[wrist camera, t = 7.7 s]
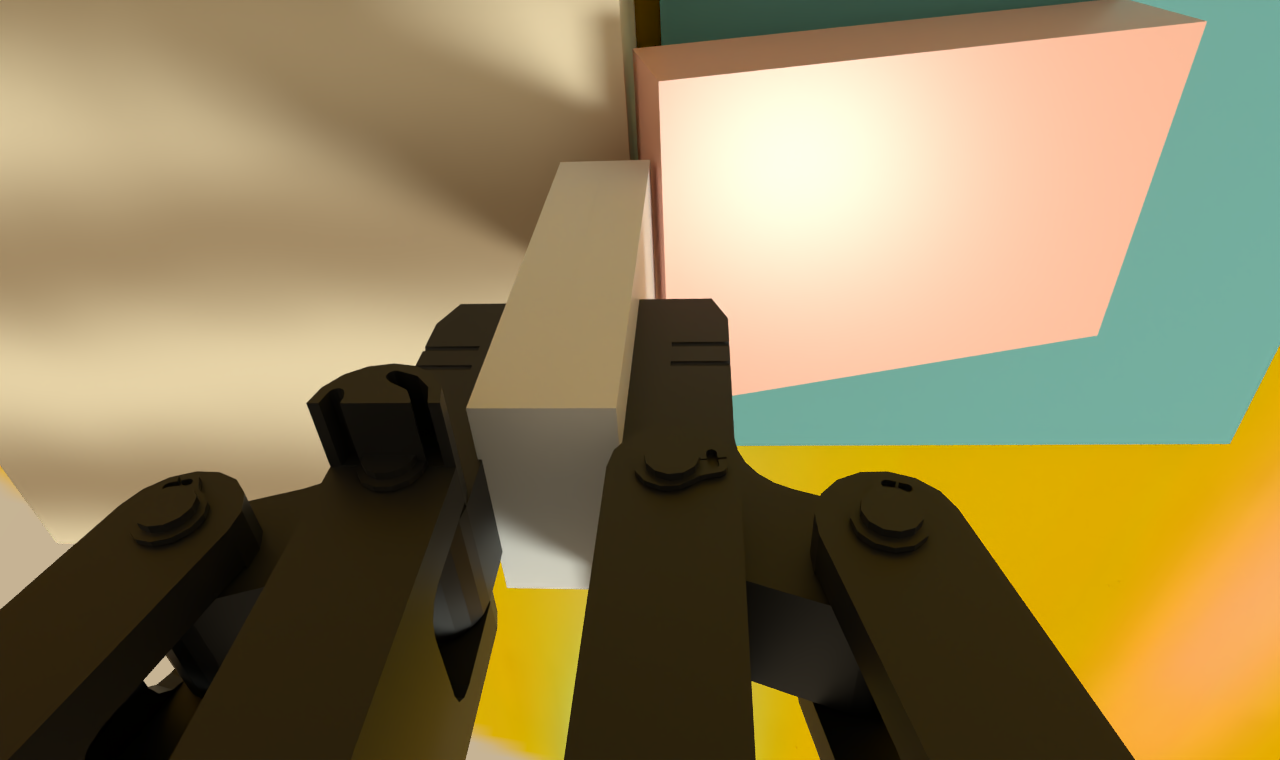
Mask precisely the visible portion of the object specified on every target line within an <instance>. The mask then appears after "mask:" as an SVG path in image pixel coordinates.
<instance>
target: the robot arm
mask: <svg viewBox="0 0 1280 760" xmlns="http://www.w3.org/2000/svg"><path fill="white" fill-rule="evenodd" d="M306 404H307V407H308V409H309V412H310V415H311V417H312V420H313V422H314V425H315V428H316V430H317V433H318V436H319V438H320V441H321V443H322V446H323V449H324V451H325V454H326V457H327V459H328V462H329V465H330V468H329V470H328V472H327V473H326V475H325V477H324V479H323V481H322V483H320V484H317V485H314V486H310V487H307V488H304V489H300V490H295V491H291V492H286V493H282V494H277V495H273V496H268V497H264V498H260V499H255V500H251V501H248V499H247V497H246V495H245V493H244V491H243V489H242V488H241V486H240V484H239V483H238V481H237V479H234V478H232V477H230V476H228V475H225V474H223V473H221V472H203V471H196V472H191V473H187V474H182V475H177V476H173V477H169V478H167V479H164V480H162V481H160V482H158V483H155V484H153V485H151V486H148V487H146V488H144V489H142V490H141V491H139V492H138V493H136V494H135V495H133V496H132V497H131V498H129V499H128V500H126V501H125V502H123V503H122V504H120V505H119V506H118V507H117V508H116V509H115V510H113V511H112V512H111V513H110V514H109V515H108V516H107V517H105V518H104V519H103V520H102V521H101V522H100V523H99V524H97V525H96V526H95V527H94V528H93V529H92V530H91V531H89V532H88V533H87V534H86V535H85V536H84V537H83V538H81V539H80V540H79V541H78V542H77V543H76V544H75V545H73V547H71V548H70V549H69V550H68V551H67V552H66V553H64V554H63V555H62V556H61V557H60V558H59V559H57V560H56V561H55V562H54V563H53V564H52V565H51V566H50V567H48V568H47V569H46V570H45V571H44V572H43V573H41V574H40V575H39V576H38V577H37V578H36V579H35V580H33V582H31V583H30V584H29V585H28V586H27V587H25V589H23V590H22V591H21V592H20V593H19V594H18V595H16V596H15V597H14V598H13V599H12V600H11V601H10V602H8V603H7V604H6V605H5V606H4V607H3V608H2V609H0V760H465V759H466V755H467V751H468V747H469V743H470V739H471V735H472V730H473V726H474V722H475V718H476V714H477V710H478V706H479V701H480V697H481V693H482V689H483V685H484V681H485V677H486V672H487V668H488V664H489V660H490V656H491V652H492V648H493V643H494V639H495V635H496V631H497V608H496V604H495V600H494V596H493V592H492V591H493V587H494V583H495V579H496V575H497V571H498V568H499V564H500V560H501V563H502V567H503V572H504V576H505V580H506V585H507V588H549V589H589V590H588V597H587V604H586V611H585V618H584V625H583V632H582V639H581V645H580V652H579V659H578V666H577V673H576V680H575V687H574V694H573V701H572V708H571V715H570V722H569V729H568V736H567V743H566V749H565V756H564V760H756V759H755V741H754V722H753V704H752V686H751V681H753V682H756V683H759V684H762V685H765V686H768V687H771V688H774V689H777V690H779V691H782V692H785V693H788V694H791V695H794V696H797V697H798V700H799V704H800V706H801V709H802V712H803V714H804V717H805V720H806V723H807V725H808V728H809V731H810V733H811V736H812V739H813V741H814V744H815V747H816V749H817V752H818V755H819V757H820V760H1135V759H1134V758H1133V756H1132V755H1131V753H1130V752H1129V750H1128V749H1127V748H1126V746H1125V745H1124V743H1123V742H1122V741H1121V739H1120V738H1119V736H1118V735H1117V733H1116V732H1115V731H1114V729H1113V728H1112V726H1111V725H1110V723H1109V722H1108V721H1107V719H1106V718H1105V716H1104V715H1103V714H1102V712H1101V711H1100V709H1099V708H1098V706H1097V705H1096V704H1095V702H1094V701H1093V699H1092V698H1091V697H1090V695H1089V694H1088V692H1087V691H1086V689H1085V688H1084V687H1083V685H1082V684H1081V682H1080V681H1079V679H1078V678H1077V677H1076V675H1075V674H1074V672H1073V671H1072V670H1071V668H1070V667H1069V665H1068V664H1067V662H1066V661H1065V660H1064V658H1063V657H1062V655H1061V654H1060V653H1059V651H1058V650H1057V648H1056V647H1055V645H1054V644H1053V643H1052V641H1051V640H1050V638H1049V637H1048V635H1047V634H1046V633H1045V631H1044V630H1043V628H1042V627H1041V626H1040V624H1039V623H1038V621H1037V620H1036V618H1035V617H1034V616H1033V614H1032V613H1031V611H1030V610H1029V609H1028V607H1027V606H1026V604H1025V603H1024V601H1023V600H1022V599H1021V597H1020V596H1019V594H1018V593H1017V592H1016V590H1015V589H1014V587H1013V586H1012V584H1011V583H1010V582H1009V580H1008V579H1007V577H1006V576H1005V574H1004V573H1003V572H1002V570H1001V569H1000V567H999V566H998V565H997V563H996V562H995V560H994V559H993V557H992V556H991V555H990V553H989V552H988V550H987V549H986V548H985V546H984V545H983V543H982V542H981V540H980V539H979V538H978V536H977V535H976V533H975V532H974V530H973V529H972V528H971V526H970V525H969V523H968V522H967V521H966V519H965V518H964V516H963V515H962V513H961V512H960V511H959V509H958V508H957V507H956V506H955V505H954V504H953V503H952V502H951V501H950V500H949V499H948V498H947V497H946V496H944V495H943V494H942V493H941V492H940V491H939V490H937V489H935V488H933V487H931V486H929V485H927V484H925V483H924V482H922V481H920V480H918V479H916V478H913V477H908V476H904V475H900V474H896V473H891V472H859V473H856V474H853V475H850V476H847V477H844V478H841V479H838V480H837V481H835V482H834V483H833V484H832V485H831V486H830V487H828V488H827V489H826V490H825V491H824V492H823V493H821V496H818V495H814V494H810V493H806V492H802V491H798V490H794V489H791V488H788V487H785V486H782V485H779V484H776V483H774V482H772V481H770V480H768V479H767V478H765V477H763V476H761V475H760V474H758V473H757V472H756V471H754V470H753V469H752V468H751V467H750V466H749V465H748V464H747V463H746V462H745V461H744V459H743V458H742V456H741V455H740V453H739V452H738V450H737V446H736V442H735V438H734V420H733V401H732V382H731V366H730V346H729V327H728V318H727V316H726V315H725V314H724V313H723V312H722V310H721V309H720V308H719V307H718V305H717V304H716V303H715V302H714V301H713V299H712V298H703V299H656V279H655V256H654V233H653V210H652V188H651V165H650V160H621V161H582V162H560V165H559V167H558V170H557V172H556V175H555V178H554V180H553V183H552V185H551V188H550V191H549V193H548V196H547V198H546V201H545V204H544V206H543V209H542V212H541V214H540V217H539V219H538V222H537V225H536V227H535V230H534V232H533V235H532V238H531V240H530V243H529V245H528V248H527V251H526V253H525V256H524V258H523V261H522V264H521V266H520V269H519V272H518V274H517V277H516V279H515V282H514V285H513V287H512V290H511V292H510V295H509V298H508V300H507V303H503V304H460V305H459V306H458V307H456V308H455V309H454V310H453V311H452V312H450V313H449V314H448V315H447V316H445V317H444V318H443V319H442V320H441V321H439V322H438V323H437V324H436V326H435V328H434V330H433V332H432V334H431V336H430V338H429V340H428V342H427V344H426V346H425V351H423V352H422V354H421V356H420V358H419V360H418V362H417V364H416V366H412V365H404V364H395V363H393V364H384V365H376V366H368V367H365V368H362V369H359V370H356V371H353V372H350V373H347V374H344V375H342V376H340V377H338V378H337V379H335V380H333V381H331V382H330V383H328V384H326V385H325V386H323V387H321V388H320V389H319V390H318V391H317V392H316V394H315V395H314V396H313V397H312V398H311V399H310V400H309V401H308V402H307V403H306ZM165 655H166V656H167V658H168V659H169V661H170V662H171V664H172V665H173V667H174V668H175V669H174V670H173V671H172V672H171V673H170V674H169V675H168V676H167V677H166V678H164V679H163V680H162V681H161V682H159V684H157V685H154V686H150V687H147V685H146V684H145V682H144V681H143V680H144V679H145V678H146V677H147V676H148V674H149V673H150V672H151V671H152V670H153V669H154V667H156V665H157V664H158V663H159V662H160V661H161V660H162V659H163V658H164V656H165Z"/></svg>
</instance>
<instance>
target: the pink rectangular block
mask: <svg viewBox="0 0 1280 760" xmlns="http://www.w3.org/2000/svg"><path fill="white" fill-rule="evenodd" d="M1206 23H1207V21H1204V20H1201V19H1197V18H1194V17H1190V16H1186V15H1183V14H1179V13H1175V12H1172V11H1168V10H1164V9H1161V8H1157V7H1153V6H1150V5H1146V4H1142V3H1139V2H1135V1H1131V0H1096V1H1087V2H1077V3H1067V4H1058V5H1048V6H1038V7H1029V8H1019V9H1010V10H1000V11H990V12H981V13H971V14H961V15H952V16H942V17H932V18H923V19H913V20H904V21H894V22H884V23H875V24H865V25H855V26H846V27H836V28H826V29H817V30H807V31H798V32H788V33H778V34H769V35H759V36H749V37H740V38H730V39H720V40H711V41H701V42H691V43H682V44H672V45H663V46H653V47H643V48H634V49H632V53H633V72H634V91H635V110H636V129H637V148H638V160H650V165H651V188H652V210H653V233H654V256H655V279H656V299H703V298H712V299H713V301H714V302H715V303H716V304H717V305H718V307H719V308H720V309H721V310H722V312H723V313H724V314H725V315H726V316H727V318H728V327H729V346H730V366H731V382H732V396H734V395H740V394H747V393H753V392H759V391H765V390H771V389H777V388H783V387H789V386H795V385H801V384H807V383H813V382H819V381H825V380H831V379H837V378H843V377H849V376H855V375H861V374H867V373H873V372H880V371H886V370H892V369H898V368H904V367H910V366H916V365H922V364H928V363H934V362H940V361H946V360H952V359H958V358H964V357H970V356H976V355H982V354H988V353H994V352H1000V351H1006V350H1012V349H1019V348H1025V347H1031V346H1037V345H1043V344H1049V343H1055V342H1061V341H1067V340H1073V339H1079V338H1085V337H1091V336H1097V335H1098V332H1099V329H1100V327H1101V324H1102V321H1103V318H1104V315H1105V312H1106V309H1107V307H1108V304H1109V301H1110V298H1111V295H1112V292H1113V289H1114V286H1115V284H1116V281H1117V278H1118V275H1119V272H1120V269H1121V266H1122V264H1123V261H1124V258H1125V255H1126V252H1127V249H1128V246H1129V244H1130V241H1131V238H1132V235H1133V232H1134V229H1135V226H1136V224H1137V221H1138V218H1139V215H1140V212H1141V209H1142V206H1143V203H1144V201H1145V198H1146V195H1147V192H1148V189H1149V186H1150V183H1151V181H1152V178H1153V175H1154V172H1155V169H1156V166H1157V163H1158V161H1159V158H1160V155H1161V152H1162V149H1163V146H1164V143H1165V141H1166V138H1167V135H1168V132H1169V129H1170V126H1171V123H1172V120H1173V118H1174V115H1175V112H1176V109H1177V106H1178V103H1179V100H1180V98H1181V95H1182V92H1183V89H1184V86H1185V83H1186V80H1187V78H1188V75H1189V72H1190V69H1191V66H1192V63H1193V60H1194V57H1195V55H1196V52H1197V49H1198V46H1199V43H1200V40H1201V37H1202V35H1203V32H1204V29H1205V26H1206Z"/></svg>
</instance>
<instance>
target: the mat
mask: <svg viewBox="0 0 1280 760" xmlns="http://www.w3.org/2000/svg"><path fill="white" fill-rule="evenodd" d="M1087 1H1096V0H660V20H661V45H662V46H663V45H672V44H682V43H691V42H701V41H711V40H720V39H730V38H740V37H749V36H759V35H769V34H778V33H788V32H798V31H807V30H817V29H826V28H836V27H846V26H855V25H865V24H875V23H884V22H894V21H904V20H913V19H923V18H932V17H942V16H952V15H961V14H971V13H981V12H990V11H1000V10H1010V9H1019V8H1029V7H1038V6H1048V5H1058V4H1067V3H1077V2H1087ZM1131 1H1135V2H1139V3H1142V4H1146V5H1150V6H1153V7H1157V8H1161V9H1164V10H1168V11H1172V12H1175V13H1179V14H1183V15H1186V16H1190V17H1194V18H1197V19H1201V20H1204V21H1207V23H1206V26H1205V29H1204V32H1203V35H1202V37H1201V40H1200V43H1199V46H1198V49H1197V52H1196V55H1195V57H1194V60H1193V63H1192V66H1191V69H1190V72H1189V75H1188V78H1187V80H1186V83H1185V86H1184V89H1183V92H1182V95H1181V98H1180V100H1179V103H1178V106H1177V109H1176V112H1175V115H1174V118H1173V120H1172V123H1171V126H1170V129H1169V132H1168V135H1167V138H1166V141H1165V143H1164V146H1163V149H1162V152H1161V155H1160V158H1159V161H1158V163H1157V166H1156V169H1155V172H1154V175H1153V178H1152V181H1151V183H1150V186H1149V189H1148V192H1147V195H1146V198H1145V201H1144V203H1143V206H1142V209H1141V212H1140V215H1139V218H1138V221H1137V224H1136V226H1135V229H1134V232H1133V235H1132V238H1131V241H1130V244H1129V246H1128V249H1127V252H1126V255H1125V258H1124V261H1123V264H1122V266H1121V269H1120V272H1119V275H1118V278H1117V281H1116V284H1115V286H1114V289H1113V292H1112V295H1111V298H1110V301H1109V304H1108V307H1107V309H1106V312H1105V315H1104V318H1103V321H1102V324H1101V327H1100V329H1099V332H1098V335H1097V336H1091V337H1085V338H1079V339H1073V340H1067V341H1061V342H1055V343H1049V344H1043V345H1037V346H1031V347H1025V348H1019V349H1012V350H1006V351H1000V352H994V353H988V354H982V355H976V356H970V357H964V358H958V359H952V360H946V361H940V362H934V363H928V364H922V365H916V366H910V367H904V368H898V369H892V370H886V371H880V372H873V373H867V374H861V375H855V376H849V377H843V378H837V379H831V380H825V381H819V382H813V383H807V384H801V385H795V386H789V387H783V388H777V389H771V390H765V391H759V392H753V393H747V394H740V395H734V396H732V401H733V420H734V438H735V442H736V446H769V445H1038V444H1230V442H1231V440H1232V438H1233V436H1234V434H1235V432H1236V430H1237V428H1238V426H1239V425H1240V423H1241V421H1242V419H1243V417H1244V415H1245V413H1246V411H1247V409H1248V407H1249V405H1250V403H1251V401H1252V399H1253V397H1254V395H1255V393H1256V391H1257V389H1258V387H1259V385H1260V383H1261V381H1262V379H1263V377H1264V375H1265V373H1266V371H1267V369H1268V367H1269V365H1270V363H1271V361H1272V359H1273V357H1274V355H1275V353H1276V351H1277V349H1278V347H1279V345H1280V0H1131Z"/></svg>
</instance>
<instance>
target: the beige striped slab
mask: <svg viewBox="0 0 1280 760" xmlns="http://www.w3.org/2000/svg"><path fill="white" fill-rule="evenodd" d="M634 48H637V40H636V23H635V6H634V0H0V466H1V467H2V468H3V470H4V471H5V473H6V474H7V475H8V477H9V478H10V479H11V481H12V482H13V484H14V485H15V486H16V488H17V489H18V491H19V492H20V493H21V495H22V496H23V497H24V499H25V500H26V502H27V503H28V504H29V506H30V507H31V508H32V510H33V511H34V513H35V514H36V515H37V517H38V518H39V519H40V521H41V522H42V524H43V525H44V526H45V528H46V529H47V531H48V532H49V533H50V535H51V536H52V537H53V539H54V540H55V541H56V543H71V544H76V543H77V542H78V541H79V540H80V539H81V538H83V537H84V536H85V535H86V534H87V533H88V532H89V531H91V530H92V529H93V528H94V527H95V526H96V525H97V524H99V523H100V522H101V521H102V520H103V519H104V518H105V517H107V516H108V515H109V514H110V513H111V512H112V511H113V510H115V509H116V508H117V507H118V506H119V505H120V504H122V503H123V502H125V501H126V500H128V499H129V498H131V497H132V496H133V495H135V494H136V493H138V492H139V491H141V490H142V489H144V488H146V487H148V486H151V485H153V484H155V483H158V482H160V481H162V480H164V479H167V478H169V477H173V476H177V475H182V474H187V473H191V472H196V471H203V472H221V473H223V474H225V475H228V476H230V477H232V478H234V479H237V481H238V483H239V484H240V486H241V488H242V489H243V491H244V493H245V495H246V497H247V499H248V501H251V500H255V499H260V498H264V497H268V496H273V495H277V494H282V493H286V492H291V491H295V490H300V489H304V488H307V487H310V486H314V485H317V484H320V483H322V481H323V479H324V477H325V475H326V473H327V472H328V470H329V468H330V465H329V462H328V459H327V457H326V454H325V451H324V449H323V446H322V443H321V441H320V438H319V436H318V433H317V430H316V428H315V425H314V422H313V420H312V417H311V415H310V412H309V409H308V407H307V404H306V403H307V402H308V401H309V400H310V399H311V398H312V397H313V396H314V395H315V394H316V392H317V391H318V390H319V389H320V388H321V387H323V386H325V385H326V384H328V383H330V382H331V381H333V380H335V379H337V378H338V377H340V376H342V375H344V374H347V373H350V372H353V371H356V370H359V369H362V368H365V367H368V366H376V365H384V364H393V363H395V364H404V365H412V366H416V364H417V362H418V360H419V358H420V356H421V354H422V352H423V351H425V346H426V344H427V342H428V340H429V338H430V336H431V334H432V332H433V330H434V328H435V326H436V324H437V323H438V322H439V321H441V320H442V319H443V318H444V317H445V316H447V315H448V314H449V313H450V312H452V311H453V310H454V309H455V308H456V307H458V306H459V305H460V304H503V303H507V300H508V298H509V295H510V292H511V290H512V287H513V285H514V282H515V279H516V277H517V274H518V272H519V269H520V266H521V264H522V261H523V258H524V256H525V253H526V251H527V248H528V245H529V243H530V240H531V238H532V235H533V232H534V230H535V227H536V225H537V222H538V219H539V217H540V214H541V212H542V209H543V206H544V204H545V201H546V198H547V196H548V193H549V191H550V188H551V185H552V183H553V180H554V178H555V175H556V172H557V170H558V167H559V165H560V162H582V161H621V160H638V148H637V129H636V110H635V91H634V72H633V53H632V49H634Z"/></svg>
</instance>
